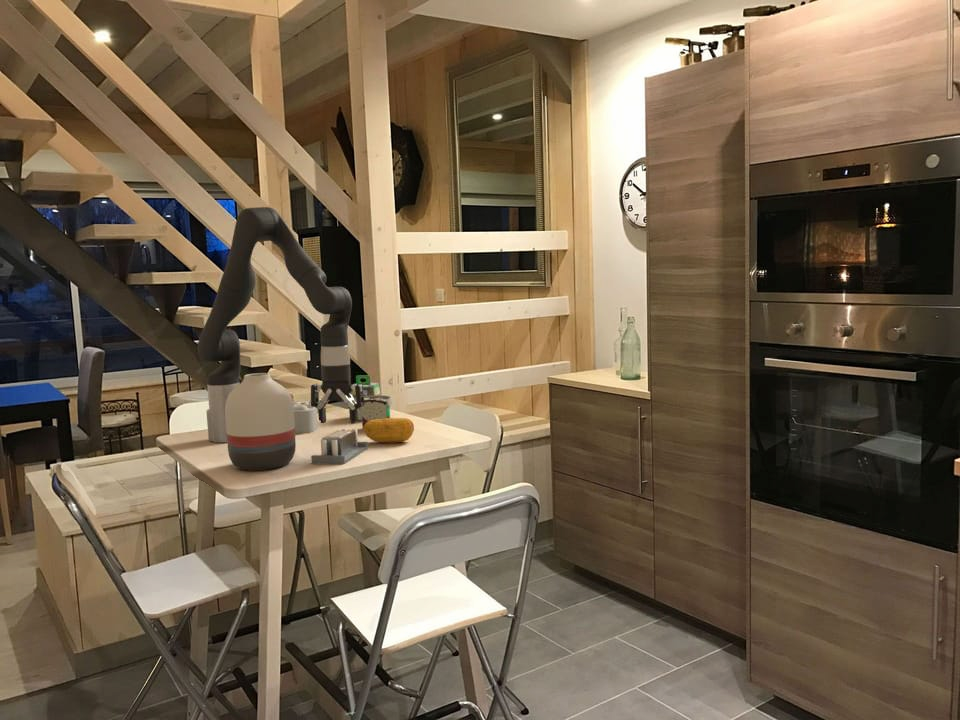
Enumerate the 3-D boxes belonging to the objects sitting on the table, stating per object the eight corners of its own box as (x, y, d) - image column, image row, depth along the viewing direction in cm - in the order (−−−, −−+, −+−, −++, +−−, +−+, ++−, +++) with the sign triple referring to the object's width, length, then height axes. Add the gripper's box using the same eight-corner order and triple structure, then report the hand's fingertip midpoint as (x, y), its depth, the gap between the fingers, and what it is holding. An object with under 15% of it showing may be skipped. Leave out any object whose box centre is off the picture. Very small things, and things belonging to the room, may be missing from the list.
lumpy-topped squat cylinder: (279, 434, 239) (278, 407, 238) (289, 426, 252) (287, 400, 251) (313, 433, 239) (311, 405, 238) (321, 425, 252) (319, 399, 251)
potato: (369, 439, 227) (368, 416, 226) (417, 439, 224) (416, 415, 224) (361, 445, 219) (360, 420, 219) (411, 445, 217) (410, 420, 217)
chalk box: (382, 415, 266) (379, 372, 264) (376, 420, 256) (373, 376, 255) (355, 416, 266) (353, 373, 265) (348, 421, 257) (346, 377, 256)
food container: (402, 427, 243) (400, 396, 242) (389, 431, 238) (387, 399, 237) (371, 424, 249) (370, 394, 248) (359, 428, 244) (357, 397, 243)
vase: (278, 454, 212) (272, 368, 209) (308, 464, 199) (303, 373, 197) (218, 466, 201) (211, 375, 198) (246, 477, 188) (239, 381, 186)
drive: (323, 457, 203) (322, 437, 202) (338, 448, 213) (337, 430, 212) (341, 457, 202) (340, 438, 201) (356, 448, 211) (355, 430, 211)
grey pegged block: (311, 463, 200) (310, 441, 199) (337, 448, 216) (336, 428, 216) (344, 463, 198) (342, 441, 197) (367, 448, 214) (366, 428, 214)
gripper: (304, 364, 202) (307, 425, 204) (355, 364, 199) (358, 426, 201) (316, 360, 210) (319, 419, 212) (366, 360, 207) (368, 420, 209)
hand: (338, 422), depth 206 cm, fingers open, 8 cm apart
